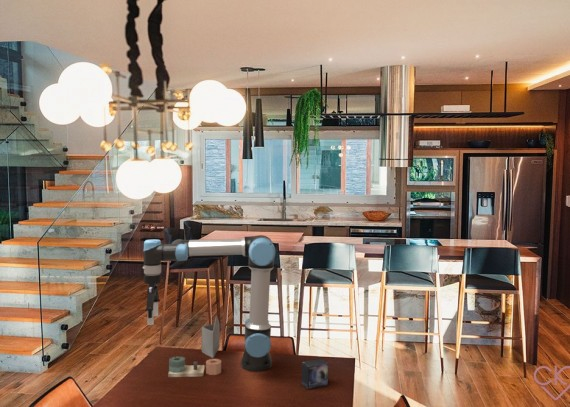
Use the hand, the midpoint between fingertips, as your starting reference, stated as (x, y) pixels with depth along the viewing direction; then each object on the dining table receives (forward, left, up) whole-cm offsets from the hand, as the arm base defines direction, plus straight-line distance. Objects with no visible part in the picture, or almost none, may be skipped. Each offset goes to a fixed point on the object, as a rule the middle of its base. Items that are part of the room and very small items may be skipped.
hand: (153, 320), depth 236 cm
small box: (-73, +12, -27) cm, 78 cm away
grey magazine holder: (-24, -33, -27) cm, 49 cm away
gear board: (-15, -6, -27) cm, 31 cm away
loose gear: (-27, -6, -27) cm, 39 cm away
